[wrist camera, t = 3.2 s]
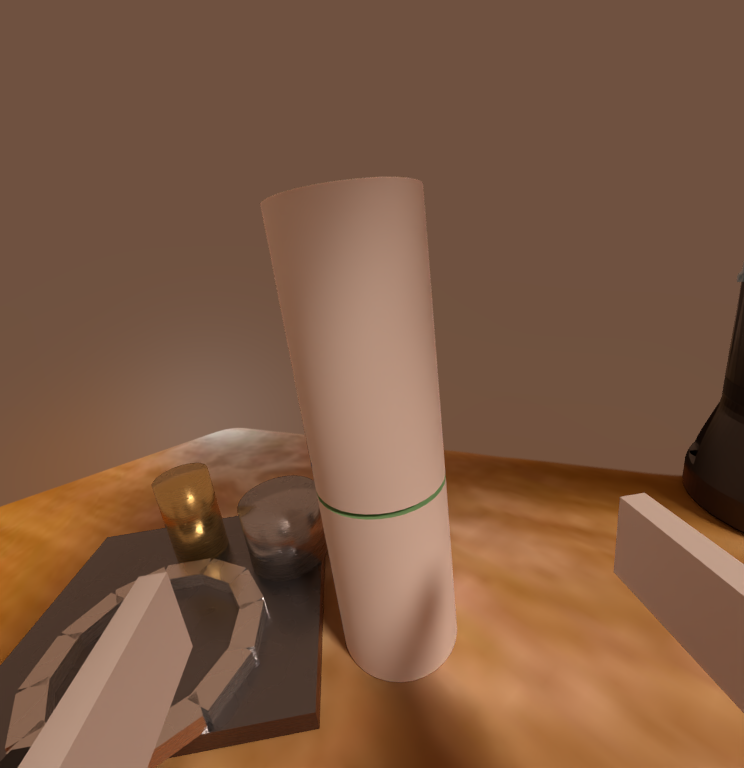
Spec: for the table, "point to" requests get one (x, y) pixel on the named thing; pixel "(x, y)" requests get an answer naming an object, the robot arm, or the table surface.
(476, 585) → the table surface
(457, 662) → the table surface
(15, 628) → the table surface
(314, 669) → the carrier
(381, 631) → the cylindrical container
